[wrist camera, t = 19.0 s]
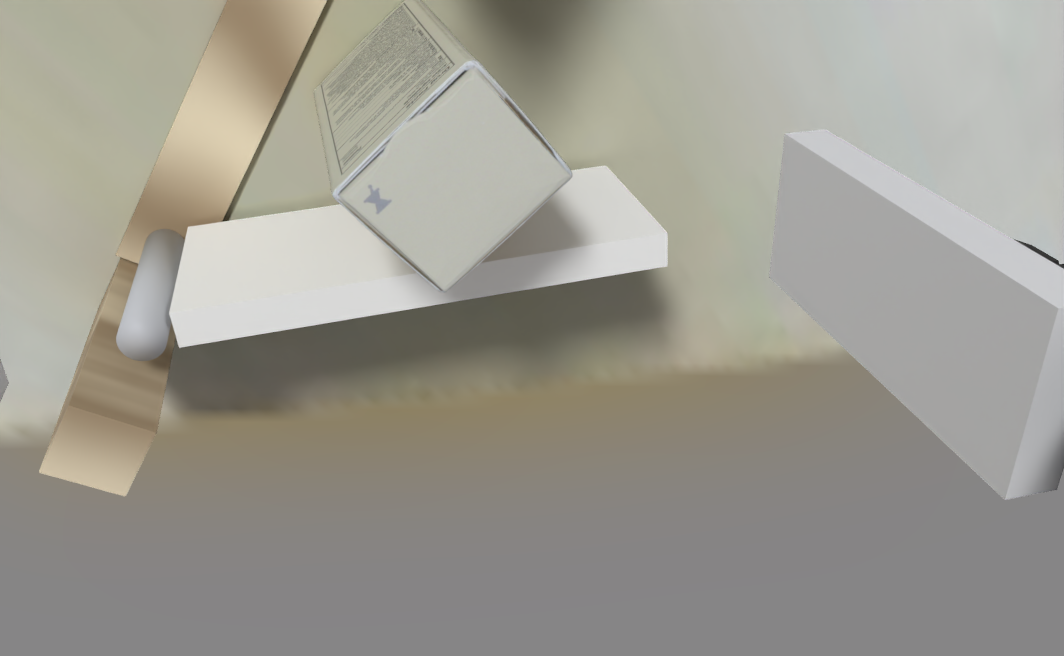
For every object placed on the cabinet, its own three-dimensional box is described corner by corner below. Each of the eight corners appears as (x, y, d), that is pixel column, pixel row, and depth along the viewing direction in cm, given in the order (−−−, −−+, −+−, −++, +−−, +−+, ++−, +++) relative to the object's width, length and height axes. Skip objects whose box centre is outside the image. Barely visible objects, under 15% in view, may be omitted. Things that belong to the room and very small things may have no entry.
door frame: (167, 336, 36) (132, 498, 28) (91, 309, 35) (31, 470, 27) (516, -400, 28) (619, -491, 19) (432, -468, 27) (503, -596, 18)
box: (393, 173, 35) (435, 307, 26) (307, 89, 33) (319, 201, 24) (498, 76, 35) (581, 177, 25) (417, -17, 32) (474, 56, 23)
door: (157, 288, 35) (132, 389, 29) (140, 231, 34) (110, 323, 28) (607, 218, 38) (670, 297, 32) (605, 163, 37) (670, 233, 30)
